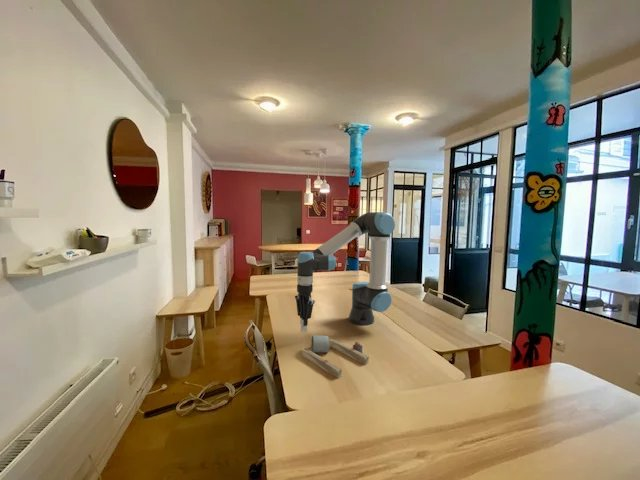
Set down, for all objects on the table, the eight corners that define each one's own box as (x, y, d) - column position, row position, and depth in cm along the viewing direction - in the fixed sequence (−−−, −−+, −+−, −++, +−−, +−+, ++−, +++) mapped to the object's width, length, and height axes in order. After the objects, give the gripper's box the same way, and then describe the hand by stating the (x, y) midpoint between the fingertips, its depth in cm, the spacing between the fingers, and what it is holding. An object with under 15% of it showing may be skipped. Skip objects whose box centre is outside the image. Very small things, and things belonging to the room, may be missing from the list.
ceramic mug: (330, 354, 128) (331, 338, 127) (312, 356, 126) (313, 339, 126) (326, 344, 138) (326, 329, 138) (309, 345, 137) (310, 330, 136)
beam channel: (337, 342, 141) (337, 331, 140) (374, 360, 123) (374, 348, 123) (301, 355, 127) (302, 344, 126) (337, 378, 109) (338, 365, 109)
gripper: (290, 282, 140) (289, 328, 142) (307, 287, 130) (305, 337, 132) (302, 280, 145) (302, 325, 147) (319, 285, 135) (318, 333, 137)
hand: (303, 331), depth 139 cm, fingers closed
